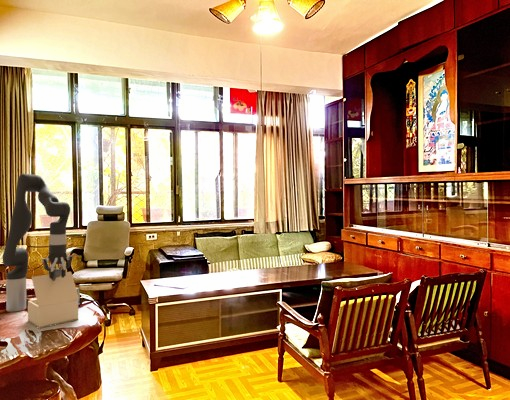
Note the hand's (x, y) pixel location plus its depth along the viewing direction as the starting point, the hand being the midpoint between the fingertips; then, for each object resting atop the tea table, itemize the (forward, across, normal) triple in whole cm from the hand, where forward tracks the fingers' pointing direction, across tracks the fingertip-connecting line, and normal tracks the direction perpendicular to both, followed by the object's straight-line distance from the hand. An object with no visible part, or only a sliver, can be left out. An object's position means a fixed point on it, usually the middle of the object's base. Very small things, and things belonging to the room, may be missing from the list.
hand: (57, 277), depth 189 cm
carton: (+22, 0, -5) cm, 23 cm away
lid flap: (+6, 0, -2) cm, 6 cm away
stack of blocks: (+23, -12, -23) cm, 34 cm away
